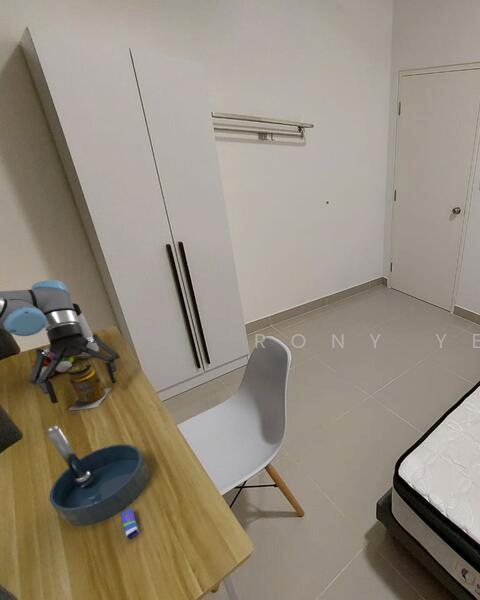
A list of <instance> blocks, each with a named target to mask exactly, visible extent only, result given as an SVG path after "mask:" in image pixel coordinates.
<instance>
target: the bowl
mask: <svg viewBox="0 0 480 600" xmlns="http://www.w3.org/2000/svg"><path fill="white" fill-rule="evenodd" d="M79 460H80V461H81V463H82V465H83V466H84V468H85V469H86V470H90V471H92V472H93V473H94V479H93V481H92V482H91V483H90V484H89V485H87V486H85V487H76V486H75V485H74V484H73V479H74V477H75V476H74V475H73V473H72V471H71V470H70V468H69V467H67V468H66V469H65V470H64V471H63V472H61V474H60V475H59V476H58V477H57V479H55V481H54V482H53V485H52V487H51V489H50V491H49V502H50V503H51V506H52V507H53V508H54V510H55V511H56V512H57V513H58V515H59V517H61V519H62V520H63V521H65V523H66V524H69V525H71V526H76V527H84V526H90V525H94V524H98V523H100V522H103V521H105V520H108V519H110V518H111V517H113V516H115V515H117V514H118V513H120V512H121V511H122V510H125V509H126V508H127V507H128V506H129V505H130V504H132V502H134V501H135V500H136V499H137V498H138V496H139V495H140V494H141V493H142V491H143V490H144V488H146V487H145V486H146V485H147V482H148V480H149V475H150V473H149V472H150V471H149V468H148V464H147V463H146V461H145V458H144V456H143V454H142V452H141V451H140V450H139V448H138V447H137V446H134V445H132V444H128V443H127V444H126V443H125V444H124V443H119V444H112V445H107V446H104V447H101V448H99V449H96V450H94V451H92V452H90V453H88V454H85V455H84V456H82V457H81V458H79Z"/></svg>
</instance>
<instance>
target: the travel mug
mask: <svg viewBox="0 0 480 600" xmlns="http://www.w3.org/2000/svg"><path fill="white" fill-rule="evenodd" d="M72 304H73V307H74V310H75V312H76V315H77V317H78V320H79V325H80V326H81V328H82V331H83V334H84V337H85V338H89V337H92V336H93V335H94V334H93V333H92V330H91V329H90V327H89V325H88V322H87V319H86V318H85V316H84V313H83V311H82V310H81V307H80V306H79V304H78V303H74V302H72ZM86 347H88V348H90V349H92V350H94V351H97V352H99V353H100V348H99V345H98V344H97V343H92V342H88V344H87V346H86ZM75 356H76V358H78V359H82V360H83V359H89V358H92V357H94V356H93V355H90V354H87V353H85V352H83V353H81V354H80V355H75Z"/></svg>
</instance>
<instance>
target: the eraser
mask: <svg viewBox="0 0 480 600" xmlns="http://www.w3.org/2000/svg"><path fill="white" fill-rule="evenodd" d="M120 515H121V521H122V525H123V529H124V533H125V537H126V538H127V540H131V539H132V538H133V537H135V536H136V535H139V534H140V532H139V527H138V523H137V521H136V517H135V513H134V510H133V508H132V507H129V508H127V509H126V510H124V511H122V512H121V513H120Z"/></svg>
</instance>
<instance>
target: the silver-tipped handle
mask: <svg viewBox="0 0 480 600" xmlns="http://www.w3.org/2000/svg"><path fill="white" fill-rule="evenodd" d="M61 429H62V428H60V427H59V425H55V424H54V425H50V426H49V427H47V428H46V430H45V433H46V435H47V437H48V439H49V440H50V441H51V443H52V444H53V446H54V447H55V449H56V451H58V454H59V455H60V456H61V458H62V459H63V461H64V463H65V464H66V466H67V468H70V470H71V471H72V473H73V475H74V476H75V477H74V479H73V484H74V485H75V486H76V487H85V486H87V485H89V484H90V483H91V482H92V481H93V479H94V473H93V472H92V471H90V470H86V469H85V468H84V466H83V465H82V463H81V461H80V460H79V459H80V458H79V457H78V455H77V454H76V452H75V450H74V448H73V447H72V445H71V443H70V442H69V441H68V439H67V437H66V436H65V433H64V432H63V431H62V430H61Z"/></svg>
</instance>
